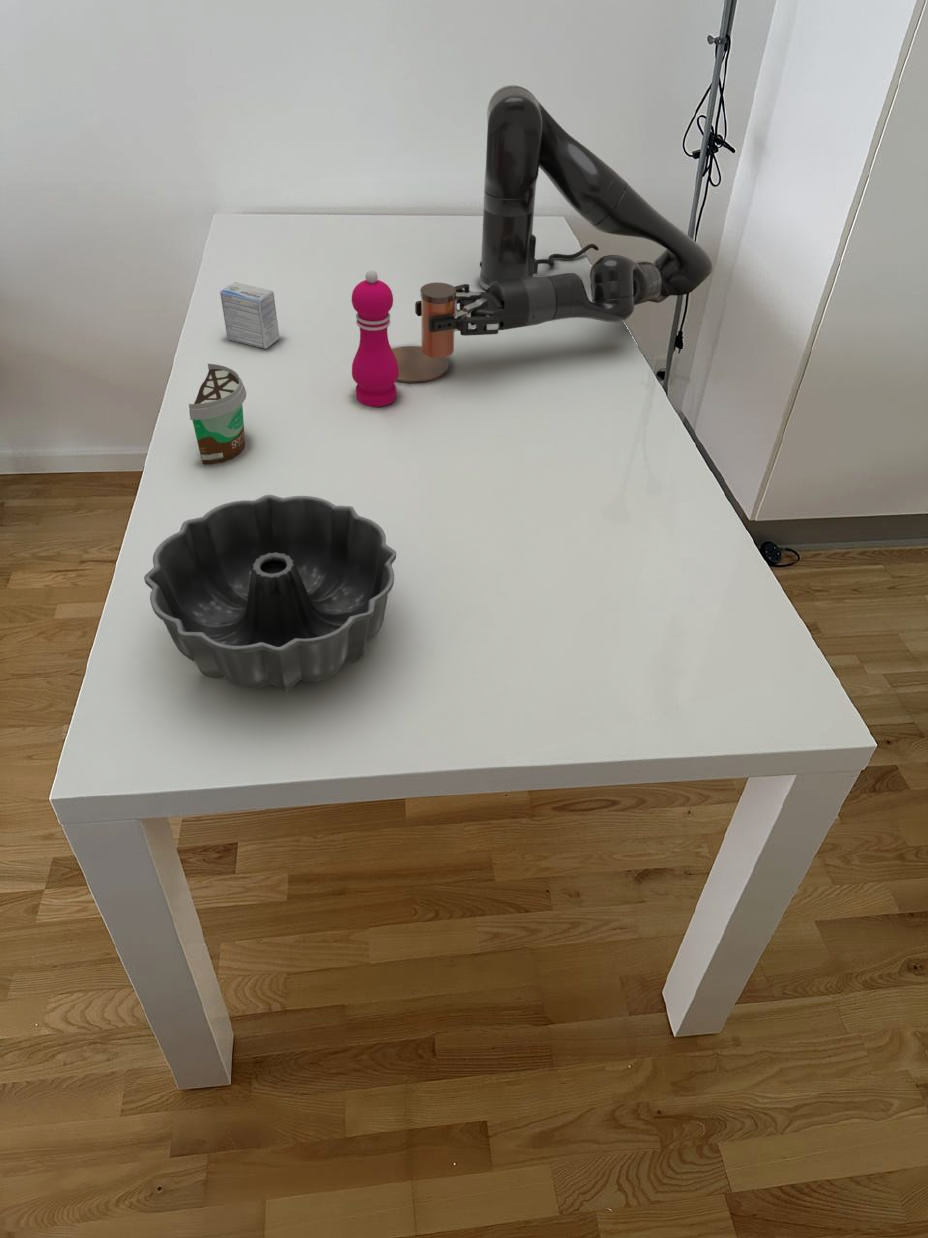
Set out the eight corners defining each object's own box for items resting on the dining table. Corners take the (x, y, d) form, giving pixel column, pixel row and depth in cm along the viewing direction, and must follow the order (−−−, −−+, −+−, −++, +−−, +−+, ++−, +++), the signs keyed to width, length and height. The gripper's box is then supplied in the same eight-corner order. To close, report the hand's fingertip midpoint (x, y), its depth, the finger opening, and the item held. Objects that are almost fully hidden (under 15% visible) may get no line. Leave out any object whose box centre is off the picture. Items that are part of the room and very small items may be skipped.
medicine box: (280, 339, 158) (274, 290, 152) (265, 350, 155) (259, 300, 149) (241, 329, 160) (234, 280, 154) (226, 340, 157) (218, 290, 151)
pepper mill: (406, 390, 146) (404, 265, 132) (388, 412, 141) (385, 284, 127) (364, 382, 148) (358, 257, 134) (345, 403, 143) (337, 276, 129)
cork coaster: (434, 343, 158) (434, 341, 158) (459, 376, 150) (459, 374, 150) (367, 354, 155) (366, 351, 154) (389, 387, 147) (389, 385, 146)
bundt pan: (219, 543, 116) (206, 477, 110) (422, 575, 113) (422, 509, 106) (120, 694, 97) (97, 625, 91) (360, 738, 94) (356, 670, 87)
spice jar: (447, 340, 151) (448, 280, 144) (459, 355, 147) (461, 294, 140) (415, 345, 149) (415, 284, 142) (427, 360, 146) (427, 299, 139)
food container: (244, 471, 128) (234, 407, 121) (200, 470, 128) (187, 406, 121) (260, 425, 137) (252, 363, 130) (219, 423, 137) (208, 361, 130)
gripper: (538, 343, 146) (437, 359, 141) (502, 306, 156) (407, 320, 151) (542, 297, 141) (438, 312, 136) (505, 262, 150) (406, 274, 146)
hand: (422, 316), depth 143 cm, fingers closed on spice jar, 5 cm apart
